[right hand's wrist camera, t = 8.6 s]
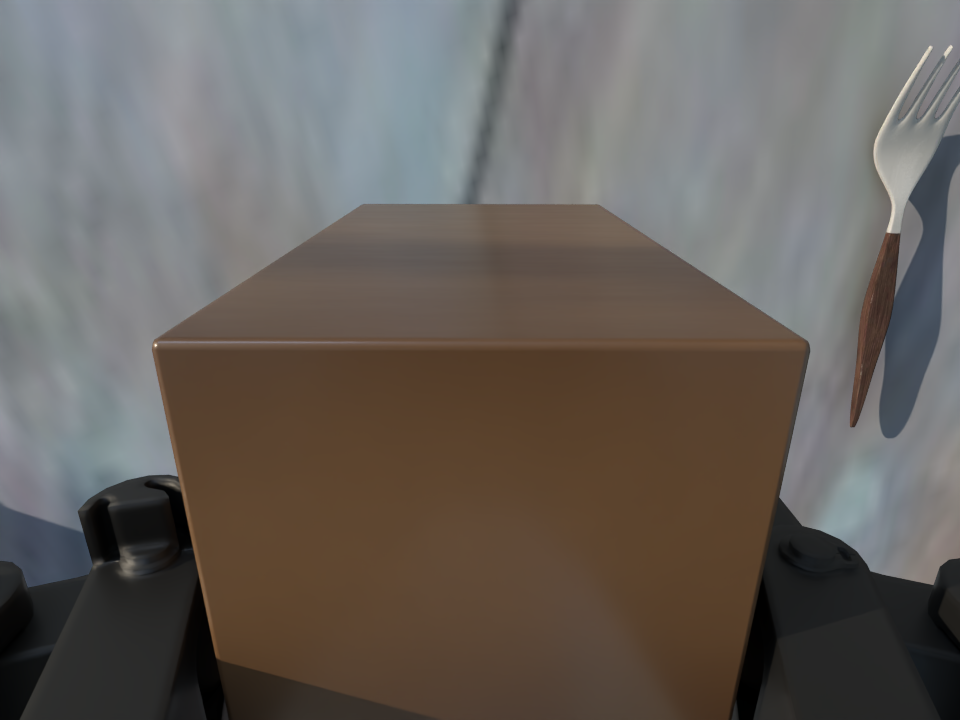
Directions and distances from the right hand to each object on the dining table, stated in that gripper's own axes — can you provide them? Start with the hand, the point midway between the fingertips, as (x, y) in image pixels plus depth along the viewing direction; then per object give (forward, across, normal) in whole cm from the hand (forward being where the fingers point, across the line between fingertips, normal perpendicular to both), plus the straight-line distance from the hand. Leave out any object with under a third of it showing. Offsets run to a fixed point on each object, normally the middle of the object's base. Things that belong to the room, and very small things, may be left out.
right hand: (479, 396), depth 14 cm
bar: (+1, 0, -10) cm, 10 cm away
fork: (+13, +17, +1) cm, 22 cm away
